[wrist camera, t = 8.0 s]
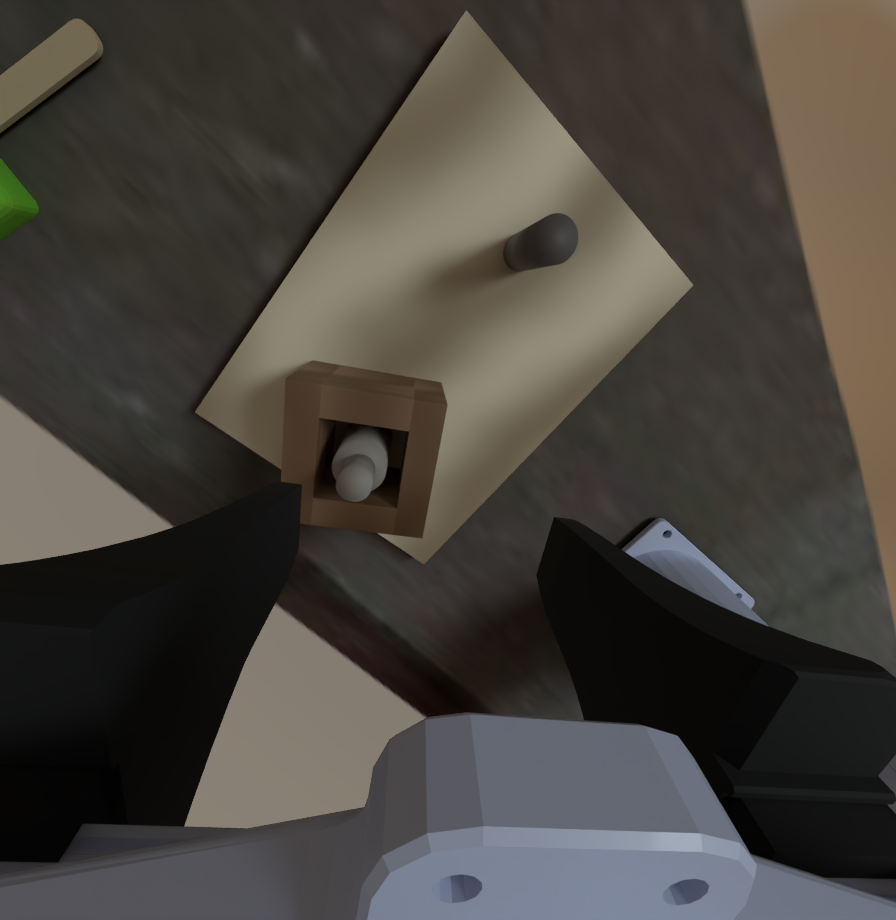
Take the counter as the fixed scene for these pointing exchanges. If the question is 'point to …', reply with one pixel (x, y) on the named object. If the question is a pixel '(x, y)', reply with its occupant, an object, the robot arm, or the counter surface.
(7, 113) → the popsicle
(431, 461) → the collar
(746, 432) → the counter surface
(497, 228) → the fitting board
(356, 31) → the counter surface
